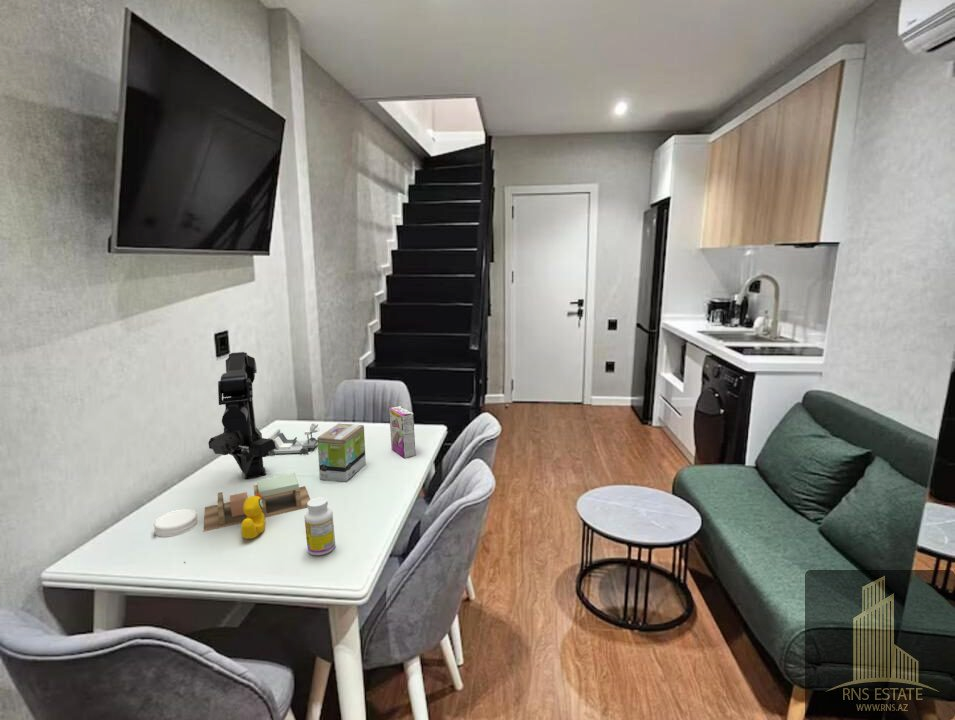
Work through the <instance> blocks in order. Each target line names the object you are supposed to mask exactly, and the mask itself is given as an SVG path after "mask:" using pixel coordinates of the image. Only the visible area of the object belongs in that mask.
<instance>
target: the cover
mask: <svg viewBox="0 0 955 720" xmlns="http://www.w3.org/2000/svg"><path fill="white" fill-rule="evenodd" d="M298 481H299V480H298V478H297V475H296V473H295V472H294V473H289V474H283V475H279V476H273V477H269V478H263V479H257V480H256V485H258V491H259V493H260V494H261V497H264V496H268V495H273V494H278V493H282V492H287V491H292V490H297V489H299V487H300V484H299V482H298Z"/></svg>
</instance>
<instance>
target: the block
mask: <svg viewBox="0 0 955 720" xmlns="http://www.w3.org/2000/svg"><path fill="white" fill-rule="evenodd" d="M248 497H249V495H248V492H247V491H245V492H241V493H236V494H235V493H234V494H231V495H229V502H230V505H231V513H232V517H235V516H239V515H244V514H245V513H244V511H243V505H244V502H245V500H246V499H247V498H248Z"/></svg>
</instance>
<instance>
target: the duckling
mask: <svg viewBox="0 0 955 720" xmlns="http://www.w3.org/2000/svg"><path fill="white" fill-rule="evenodd" d="M262 509H263V502H262V499H261V494H260V493H257V495H256V496H255V495H252V496H251V495H250V496H248V498H247V499H246V500H245V502H244V505H243V511H244V513H245V515H246V516H247V518H246V519H244V520H243V522H242V523H241V526H240V530H241V536H242V537H243V539H246V540H251V539H255V538H256V537H258V536H259V535H260V534H261V533H263V532H264V530H265V527H266V517H265V516H264V514H263V513H262V512H261V511H262Z"/></svg>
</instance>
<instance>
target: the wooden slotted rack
mask: <svg viewBox="0 0 955 720" xmlns="http://www.w3.org/2000/svg"><path fill="white" fill-rule="evenodd" d="M253 493H254V495H253V496H256V495H257V493H259V491H258V485H257V484H256V485H255V484H254V485H253ZM261 499H262V502H263V509H262V511H261V512H262V513H263V514H264V516H265V518H271V517H273V516H278V515H282V514H287V513H290V512H291V513H292V512H295V511H300V510H304V509H308V506H307V503H308V501H309V500H311V498H310V495H309V493H308V489H307V487H306V486H305V485H304V486H303V485H302V486H299V489H297V490H292V491H287V492H282V493H278V494H273V495H268V496H264V497H261ZM203 516H204V517H203V533H205V532H208V531H211V530H217V529H221V528H225V527H230V526H235V525H238V524H242V522H243V520H244V519H246V518H247V516H246V515H245V514H244V515H239V516H235V517H232V513H231V505H230V501H228V502H225V501H224V493H223V491H220V492H217V504H214V505H209V506H205V507H204V515H203Z"/></svg>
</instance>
